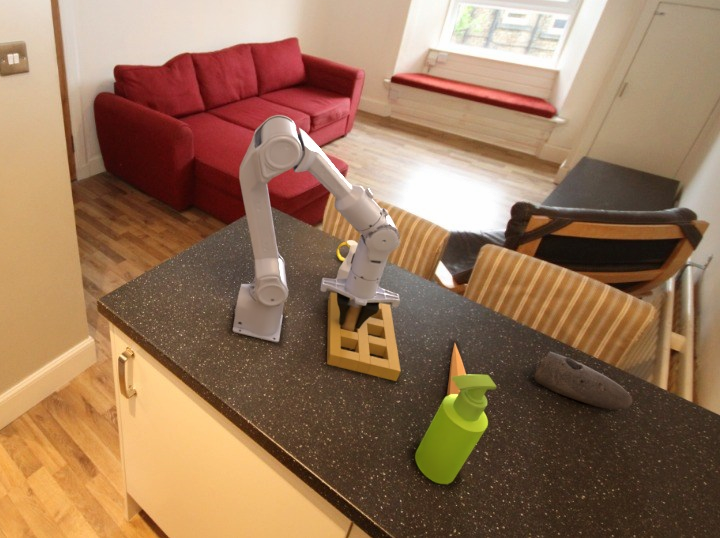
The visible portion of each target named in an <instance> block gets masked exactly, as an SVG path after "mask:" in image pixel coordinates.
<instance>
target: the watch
mask: <svg viewBox="0 0 720 538" xmlns="http://www.w3.org/2000/svg"><path fill="white" fill-rule="evenodd" d="M356 243H358V242H357V241H356V240H352V239H348V240H347V241H343V242H341V243H340V244H339V245H338V247H337V248H336V252H335V254H336V257H337V258H338V260H339V261H341V262H343V261H344V260H345V258H346V257H344V256H342V255H341V253H340V248H341V247H343V246H346V247H347V248H350V247H351V245H353V244H356Z"/></svg>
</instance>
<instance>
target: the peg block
mask: <svg viewBox="0 0 720 538" xmlns="http://www.w3.org/2000/svg"><path fill="white" fill-rule="evenodd" d="M350 300H351V298H350ZM339 317H340V310H339V307H338V303H337V293H335V292H332V291H330V293H329V297H328V300H327V341H326V342H327V344H326V345H327V347H326V348H327V349H326V364H327V365H330V366H334V367H337V368H340V369H341V368H342V369H346V370H348V371H349V370H350V371H353V372H358V373H362V374H365V375H369V376H373V377H377V378H381V379H386V380H390V381H393V382H397V381H398V378H399V376H400V374H401V364H400V359H399V353H398V345H397V340H396V334H395V327H394V322H393V321H394V320H393V314H392V307H391V304H387V303H382V302H380V303H379V310H378V312H377V313H376V314H374V315H372V316H371V317H369V318H368V319H367V320H366V321H365V322H364V323H363V324H362V326H361V327H360V328H359V329H357V328H356V326H355V329H354V332H352V331H348V330H343V329H340V328H341V325H340V324H339ZM341 347H342V348H341ZM343 348H347V349H350V350H347V349H343ZM351 350H354V351H351ZM370 354H371V355H370ZM372 355H375V356H372ZM376 356H378V357H376ZM380 357H382V358H380Z"/></svg>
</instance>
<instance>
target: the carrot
mask: <svg viewBox="0 0 720 538" xmlns="http://www.w3.org/2000/svg"><path fill="white" fill-rule="evenodd" d="M449 367H450V368H449V376H448V385H447V391H446V396H448V395H452V394H457V395H458V394H459V392H460V391H461V390H459V389H458V387H457V386H456V384H455V383H454V381H453V379H452V378H451V377H454V376H459V375H467V373H466V369H465V366H464V362H463V360H462V357H461V354H460V352H459V349H458V346H457V344H456V342H454V344H453V349H452V354H451V358H450V366H449Z"/></svg>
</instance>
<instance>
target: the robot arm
mask: <svg viewBox="0 0 720 538" xmlns="http://www.w3.org/2000/svg"><path fill="white" fill-rule="evenodd" d="M297 129H299V130H297ZM298 132H299V133H298ZM291 169H293V172H294V173H303V172H308V173H310V175H311V176H313V177H314V178H315V179H316V180H317V181H318V182H319V183H320V184H321V185H322V186H323V187H324V188H325V189H326V190H327V191H328V192H329V193H330V194H331V195H332V196H333V197H334V208H335V209H336V210H337V211H338V212H339V214H340V215H341V216H342V217H343V218H344V219H345V220H346V221H347V222H348V223H349V224H350V225H351V226H352V228H353V229H354V230H355V231H356V232H357V233H359V234H360V235H359V240H358V242H357V243H358V245H357V248H356V251H355V255H354V258H353V261H352V265H351V268H350V271H349V274H348V278H347V279H336V278H328V277H322V279H321V282H320V292H323V293H326V292H327V291H328V292H333V293H335V292H337V303H338V307H339V310H340V317H339V324H340V325H343V324H344V320H345V316H346V313H347V311H348V309H349V307H350V298H351V299H353V300H355V303H356V304H359V305H362V308H361V311H360V314H359V317H358V320H357V323H356V328H357V329H359V328H360V327H361V326H362V324H363V323H364V322H365V321H366V320H367V319H368V318H369V317H371V316H372V315H374V314H376V313H377V312H378V310H379V303H383V304H387V305H390V307H391V308H395V309H398V306H399V304H400V301H401V298H400V294H399V293H397V292H392V291H390V290H387V289H385V288H382V287H381V286H379V285H380V282H381V280H382V276H383V274H384V270H385V268H386V265H387V263H388V260H389V257H390V254H391V253H392V252H394V251H395V250H397V249H398V248H399V246H401V243H402V242H401V240H400V238H401V237H400V231H399V229H398V228H397V226H396V224H395V223H394V220H393V219H392V216H391V215H390V214H389V211H388V210H387V209H386V208H381V206H380V205H379V204H378V203H377V202H376V201H375V199H373V198H375V196H374V194H373V192H372V191H371V190H370V188H366V189H364V187H363V186H362V185H360V184H351V183H349V182H348V181H347V179H346V178H345V177H344V176H343V174H342V173H341V172H340V171H339V170H338V168H336V165H334V163H332V161H331V160H330V159H329V158H328V156H327V155H326V154H325V153H324V152H323V151H322V149H321V148H320V147H319V145H318V144H317V143H316V142H315V141H314V140H313V139H312V138H311V137H310V136H309V135H308V134H307V133H306V132H305V130H303V129H302V128H301V127H298V128H297V125H296V123H295V122H294V120H293V119H291V118H290V117H288V116H286V115H284V114H275V115H271V116H269V117H268V118H267V119H266V120H264V121H263V122H262V123H261V124H260V125H259V126H258V127H256V128H255V130H254V133H253V135H252V139H251V141H250V144H249V146H248V147H247V150H246V152H245V154H244V157H243V159H242V161H241V163H240V165H239V170H238V171H239V174H238V175H239V176H238V178H239V185H240V189H241V195H242V200H243V201H242V202H243V205H244V212H245V216H246V222H247V227H248V231H249V238H250V243H251V247H252V252H253V258H254V260H253V269H254V270H253V271H254V278H253V280H252V282H251V283H241V284H240V287H239V291H238V296H237V301H236V305H235V309H234V319H233V327H232V332H233V333H236V334H240V335H244V336H249V337H252V338H257V339H261V340H264V341H269V342H273V343H279V342H280V337H281V331H282V322H283V317H284V315H283V311H284V307H285V302H286V301H287V299H288V297H289V288H288V285H287V276H286V262H285V260H284V258H283V257H282V256H281V254H280V253H279V249H278V245H277V238H276V237H277V236H276V232H275V226H274V219H273V213H272V206H271V201H270V193H269V188H268V183H269V182H270V181H271V180H272V179H274V178H276V177H278V176H280V175H282V174H283V173H285V172H287V171H289V170H291ZM371 318H372V317H371Z"/></svg>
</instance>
